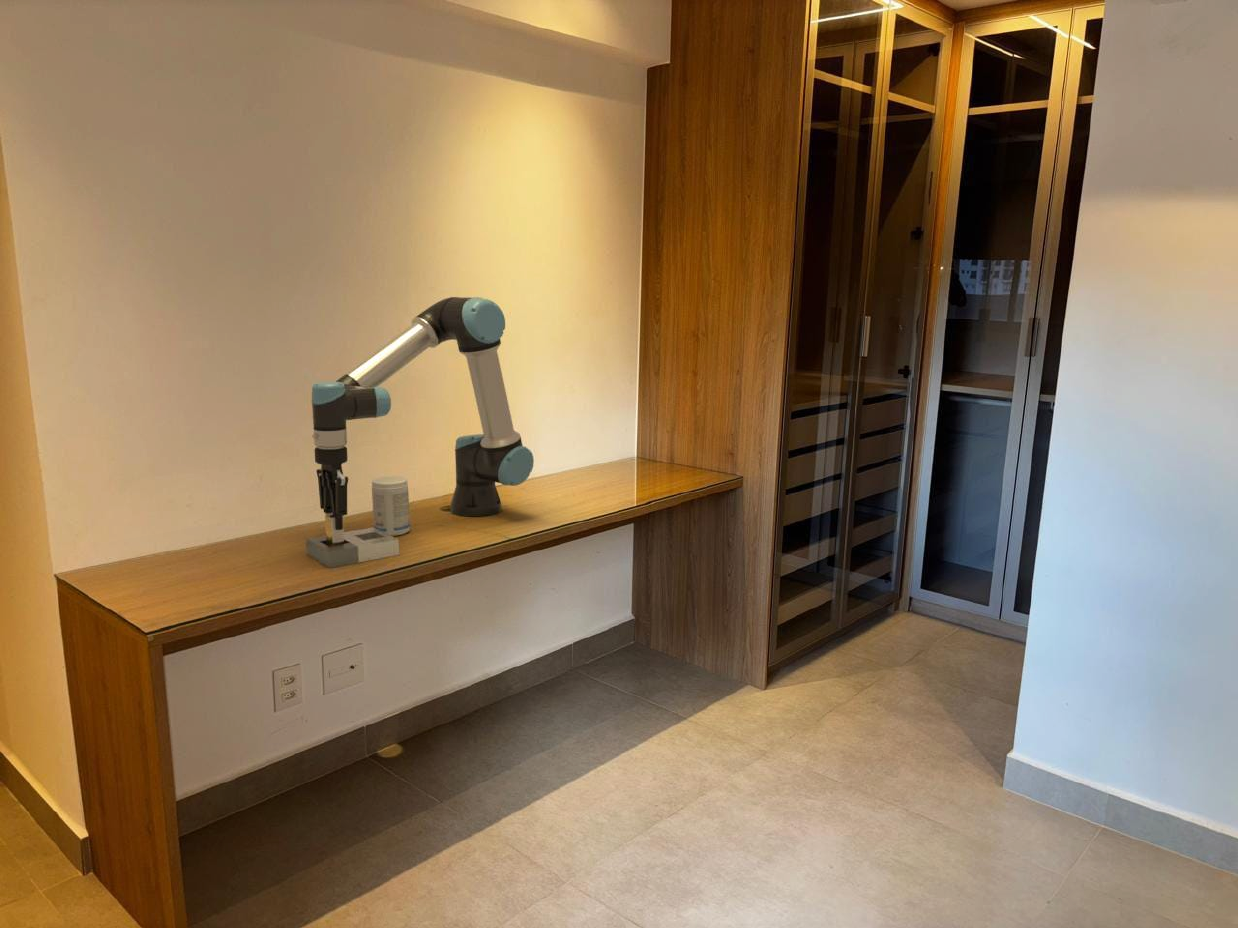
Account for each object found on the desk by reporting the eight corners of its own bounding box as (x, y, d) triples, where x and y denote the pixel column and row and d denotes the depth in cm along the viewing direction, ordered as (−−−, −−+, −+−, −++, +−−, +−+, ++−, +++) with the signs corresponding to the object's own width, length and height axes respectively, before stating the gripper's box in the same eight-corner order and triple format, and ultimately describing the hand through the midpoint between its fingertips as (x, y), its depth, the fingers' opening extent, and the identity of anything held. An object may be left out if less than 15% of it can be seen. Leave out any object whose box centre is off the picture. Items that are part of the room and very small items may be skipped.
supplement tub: (409, 526, 250) (408, 475, 247) (410, 536, 241) (409, 482, 238) (373, 528, 248) (371, 476, 245) (373, 537, 239) (371, 484, 236)
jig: (374, 542, 235) (373, 527, 234) (398, 554, 224) (398, 539, 223) (306, 554, 223) (305, 538, 222) (329, 568, 213) (328, 551, 212)
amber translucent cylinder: (339, 544, 223) (338, 513, 222) (346, 548, 220) (344, 516, 219) (324, 547, 221) (322, 516, 219) (330, 551, 218) (329, 519, 216)
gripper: (302, 443, 219) (307, 535, 224) (329, 453, 207) (333, 550, 212) (332, 440, 224) (336, 530, 228) (359, 449, 212) (363, 545, 216)
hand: (335, 540), depth 220 cm, fingers closed on amber translucent cylinder, 3 cm apart
